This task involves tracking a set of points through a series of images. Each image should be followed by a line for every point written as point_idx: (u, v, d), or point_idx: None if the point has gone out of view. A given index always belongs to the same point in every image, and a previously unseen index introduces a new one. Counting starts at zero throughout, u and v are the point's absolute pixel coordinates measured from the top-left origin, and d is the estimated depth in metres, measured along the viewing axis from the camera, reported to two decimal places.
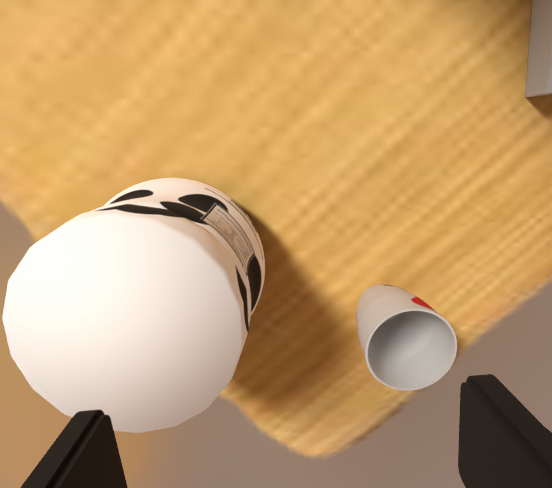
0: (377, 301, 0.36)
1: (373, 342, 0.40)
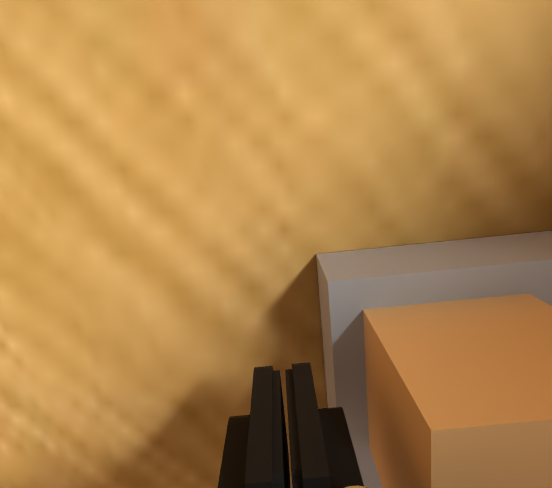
0: None
1: None
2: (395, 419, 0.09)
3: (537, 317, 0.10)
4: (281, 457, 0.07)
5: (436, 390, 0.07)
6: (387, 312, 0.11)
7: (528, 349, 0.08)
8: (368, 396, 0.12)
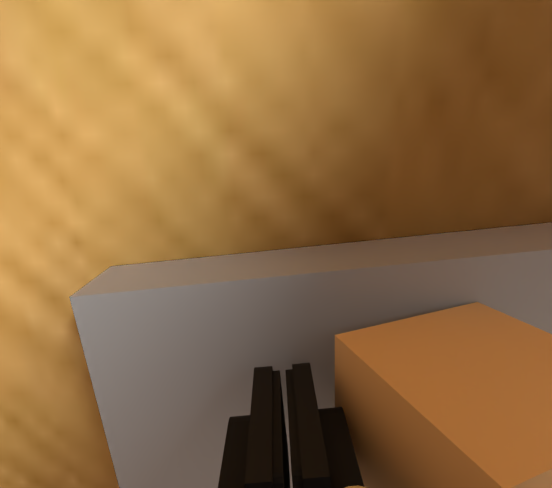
0: None
1: None
2: (406, 465, 0.08)
3: (502, 327, 0.10)
4: (281, 457, 0.07)
5: (473, 431, 0.06)
6: (362, 336, 0.10)
7: (520, 363, 0.08)
8: None
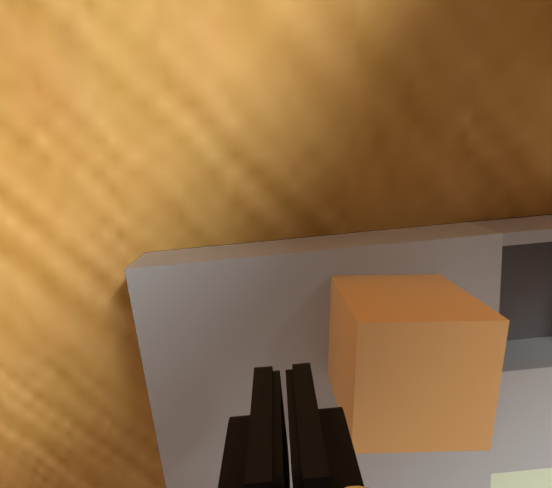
0: None
1: None
2: (343, 335, 0.14)
3: (437, 285, 0.16)
4: (281, 457, 0.07)
5: (365, 310, 0.13)
6: (346, 277, 0.17)
7: (424, 297, 0.14)
8: (329, 336, 0.17)
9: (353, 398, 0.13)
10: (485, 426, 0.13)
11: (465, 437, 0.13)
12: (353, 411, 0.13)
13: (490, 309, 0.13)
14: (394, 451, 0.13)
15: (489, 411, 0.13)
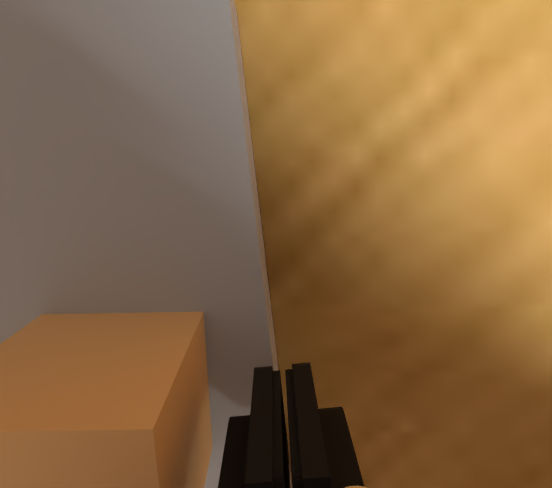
0: None
1: None
2: (117, 366, 0.09)
3: (203, 463, 0.11)
4: (281, 457, 0.07)
5: (170, 415, 0.08)
6: (202, 335, 0.11)
7: (190, 470, 0.10)
8: (106, 316, 0.11)
9: None
10: None
11: None
12: None
13: None
14: None
15: None
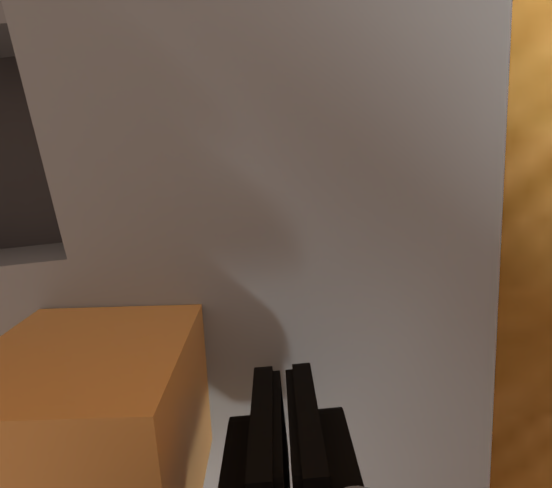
0: None
1: None
2: (116, 357, 0.09)
3: (203, 455, 0.11)
4: (281, 457, 0.07)
5: (170, 404, 0.08)
6: (201, 328, 0.11)
7: (191, 461, 0.10)
8: (104, 309, 0.11)
9: None
10: None
11: None
12: None
13: None
14: None
15: None
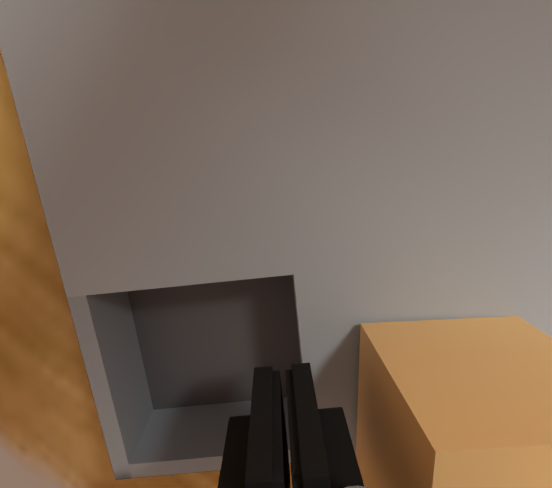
0: None
1: None
2: (391, 435, 0.09)
3: (527, 341, 0.10)
4: (281, 457, 0.07)
5: (437, 411, 0.08)
6: (384, 327, 0.11)
7: (521, 372, 0.09)
8: (359, 408, 0.12)
9: None
10: None
11: None
12: None
13: None
14: None
15: None
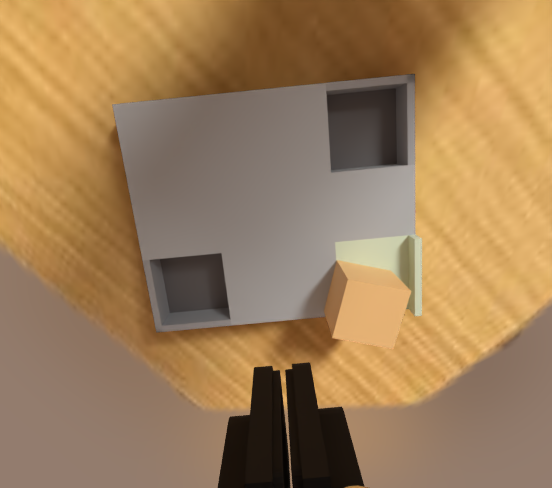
0: None
1: None
2: (338, 287, 0.30)
3: (387, 274, 0.32)
4: (281, 457, 0.07)
5: (351, 276, 0.29)
6: (344, 262, 0.33)
7: (379, 277, 0.30)
8: (329, 291, 0.33)
9: (338, 312, 0.29)
10: (393, 337, 0.29)
11: (383, 340, 0.29)
12: (337, 318, 0.29)
13: (406, 286, 0.29)
14: (351, 340, 0.29)
15: (396, 330, 0.29)
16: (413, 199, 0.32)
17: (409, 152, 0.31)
